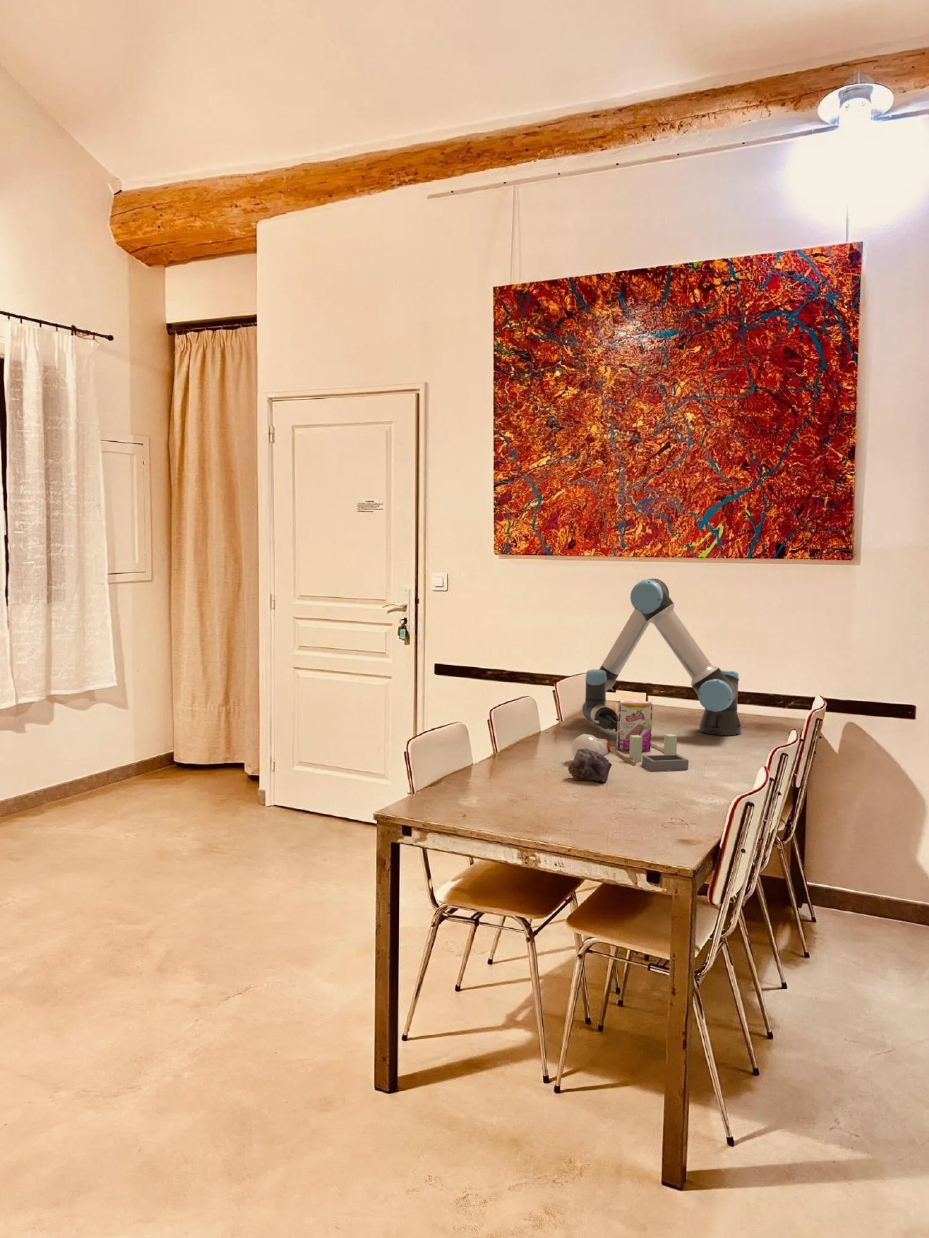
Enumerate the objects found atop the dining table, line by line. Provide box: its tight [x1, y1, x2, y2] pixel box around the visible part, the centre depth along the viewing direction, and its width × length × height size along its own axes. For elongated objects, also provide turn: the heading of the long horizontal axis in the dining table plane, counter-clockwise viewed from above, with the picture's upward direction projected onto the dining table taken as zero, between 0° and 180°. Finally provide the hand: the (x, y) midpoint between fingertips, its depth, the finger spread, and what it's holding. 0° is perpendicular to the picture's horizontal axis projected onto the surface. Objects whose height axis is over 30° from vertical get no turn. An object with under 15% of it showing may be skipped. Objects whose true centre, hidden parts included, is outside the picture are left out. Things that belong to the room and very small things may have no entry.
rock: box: [567, 749, 613, 783], centre depth 287 cm, size 12×9×10 cm
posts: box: [628, 733, 678, 763], centre depth 313 cm, size 15×3×8 cm, turn 102°
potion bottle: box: [570, 733, 611, 758], centre depth 309 cm, size 9×10×15 cm
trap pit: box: [641, 753, 690, 772], centre depth 304 cm, size 12×8×3 cm, turn 102°
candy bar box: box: [616, 699, 653, 752], centre depth 327 cm, size 11×5×16 cm, turn 87°
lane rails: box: [609, 741, 664, 766], centre depth 320 cm, size 18×26×1 cm
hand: (628, 730), depth 330 cm, fingers closed
